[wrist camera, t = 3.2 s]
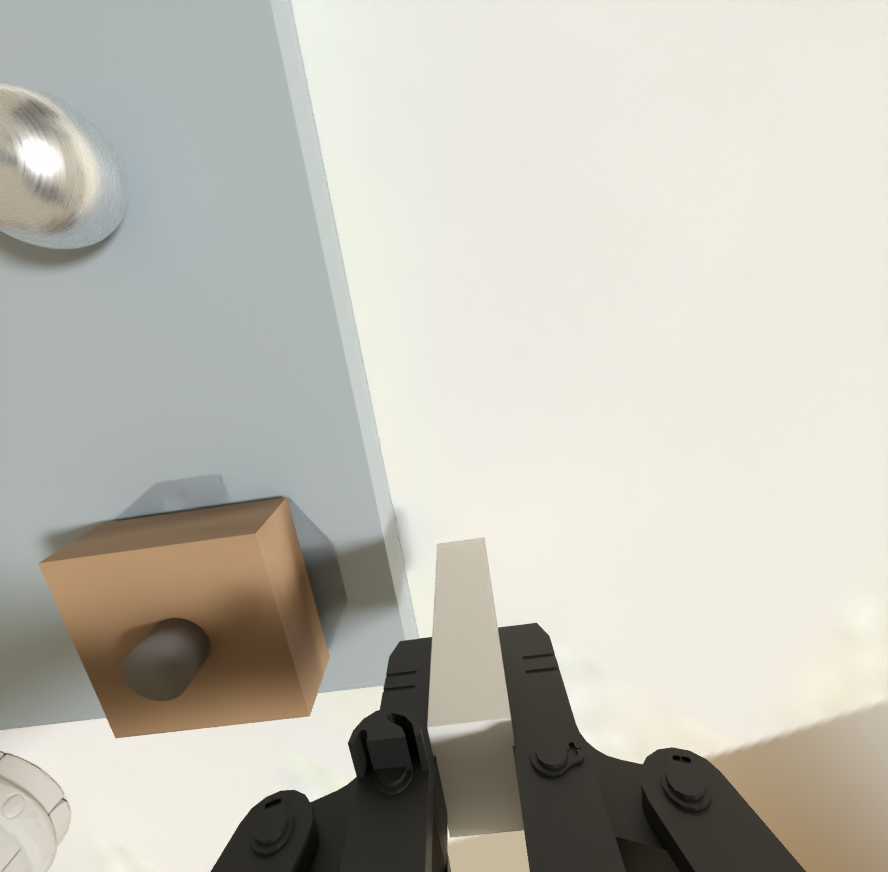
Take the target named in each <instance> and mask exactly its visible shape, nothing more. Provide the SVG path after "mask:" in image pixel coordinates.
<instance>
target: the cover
mask: <svg viewBox="0 0 888 872" xmlns="http://www.w3.org/2000/svg"><path fill="white" fill-rule="evenodd" d="M38 565H39V567H40V569H41V571H42V574H43V576H44V578H45V580H46V583H47V585H48V587H49V589H50V592H51V594H52V596H53V598H54V601H55V603H56V605H57V607H58V610H59V612H60V614H61V616H62V619H63V621H64V623H65V625H66V628H67V630H68V632H69V634H70V637H71V639H72V641H73V643H74V646H75V648H76V650H77V652H78V655H79V657H80V659H81V661H82V664H83V666H84V668H85V670H86V673H87V675H88V677H89V679H90V682H91V684H92V686H93V688H94V691H95V693H96V695H97V697H98V700H99V702H100V704H101V706H102V709H103V711H104V713H105V715H106V718H107V720H108V722H109V724H110V727H111V729H112V731H113V733H114V736H115V738H122V737H131V736H140V735H148V734H157V733H166V732H175V731H184V730H193V729H201V728H210V727H219V726H228V725H237V724H245V723H254V722H263V721H272V720H281V719H289V718H298V717H307V716H310V713H311V710H312V707H313V705H314V702H315V699H316V696H317V693H318V690H319V687H320V684H321V681H322V678H323V676H324V673H325V670H326V667H327V664H328V661H329V658H330V656H329V653H328V649H327V645H326V641H325V638H324V634H323V630H322V626H321V623H320V619H319V615H318V612H317V608H316V604H315V600H314V597H313V593H312V589H311V585H310V582H309V578H308V574H307V570H306V567H305V563H304V559H303V555H302V552H301V548H300V544H299V541H298V537H297V533H296V529H295V526H294V522H293V518H292V514H291V511H290V507H289V503H288V499H287V497H284V498H277V499H270V500H263V501H256V502H249V503H242V504H235V505H228V506H221V507H213V508H206V509H199V510H192V511H185V512H178V513H171V514H164V515H157V516H150V517H143V518H135V519H128V520H121V521H114V522H107V523H102V524H100V525H99V526H97V527H95V528H94V529H92V530H91V531H89V532H87V533H86V534H84V535H83V536H81V537H79V538H78V539H76V540H75V541H73V542H71V543H70V544H68V545H66V546H65V547H63V548H62V549H60V550H58V551H57V552H55V553H54V554H52V555H50V556H49V557H47V558H46V559H44V560H42V561H41V562H39V563H38Z"/></svg>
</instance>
